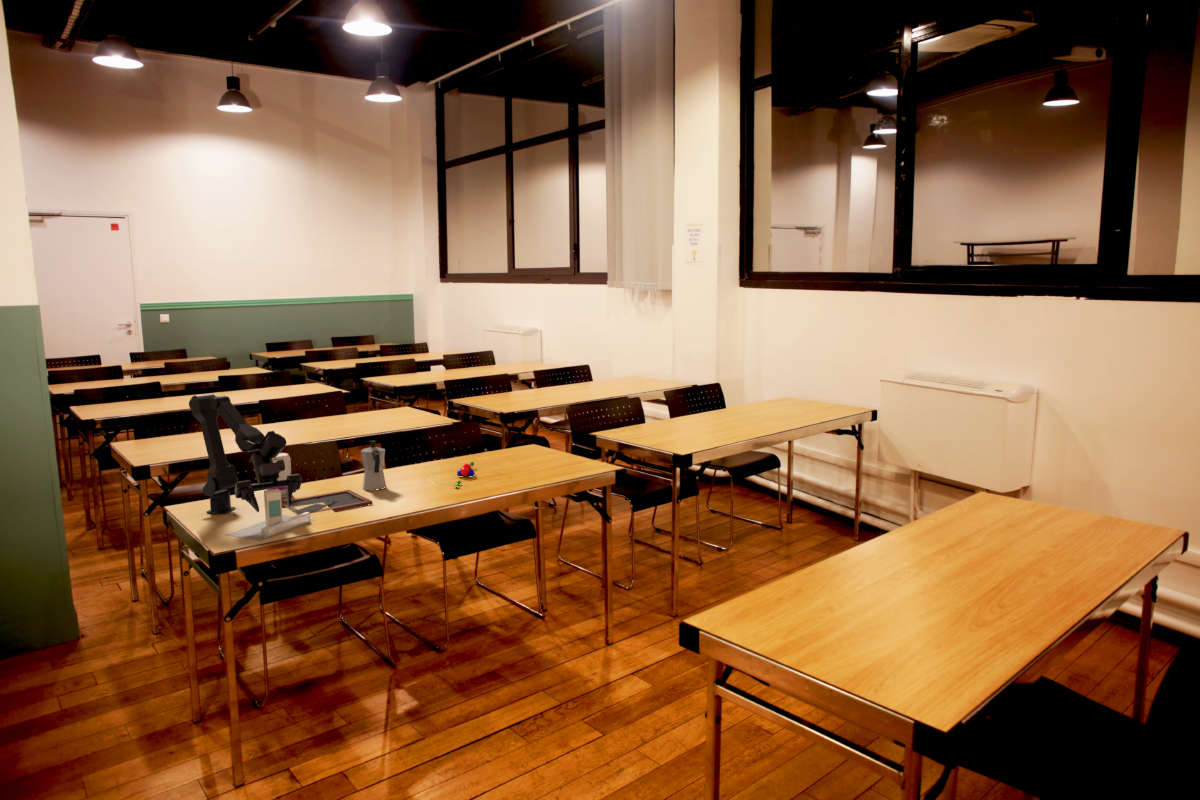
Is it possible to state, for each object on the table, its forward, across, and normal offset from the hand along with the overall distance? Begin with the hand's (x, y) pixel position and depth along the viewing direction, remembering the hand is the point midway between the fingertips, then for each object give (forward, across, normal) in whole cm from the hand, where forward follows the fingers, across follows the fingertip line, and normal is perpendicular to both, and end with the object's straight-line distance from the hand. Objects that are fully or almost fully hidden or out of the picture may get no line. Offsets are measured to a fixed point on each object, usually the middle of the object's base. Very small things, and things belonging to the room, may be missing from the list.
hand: (274, 509), depth 230 cm
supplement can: (-24, +11, +35) cm, 44 cm away
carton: (+3, 0, +5) cm, 6 cm away
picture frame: (-10, +21, +21) cm, 31 cm away
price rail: (+6, +3, +2) cm, 7 cm away
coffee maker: (-18, +42, +28) cm, 54 cm away
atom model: (-16, +77, +26) cm, 83 cm away
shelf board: (+4, 0, +7) cm, 7 cm away
